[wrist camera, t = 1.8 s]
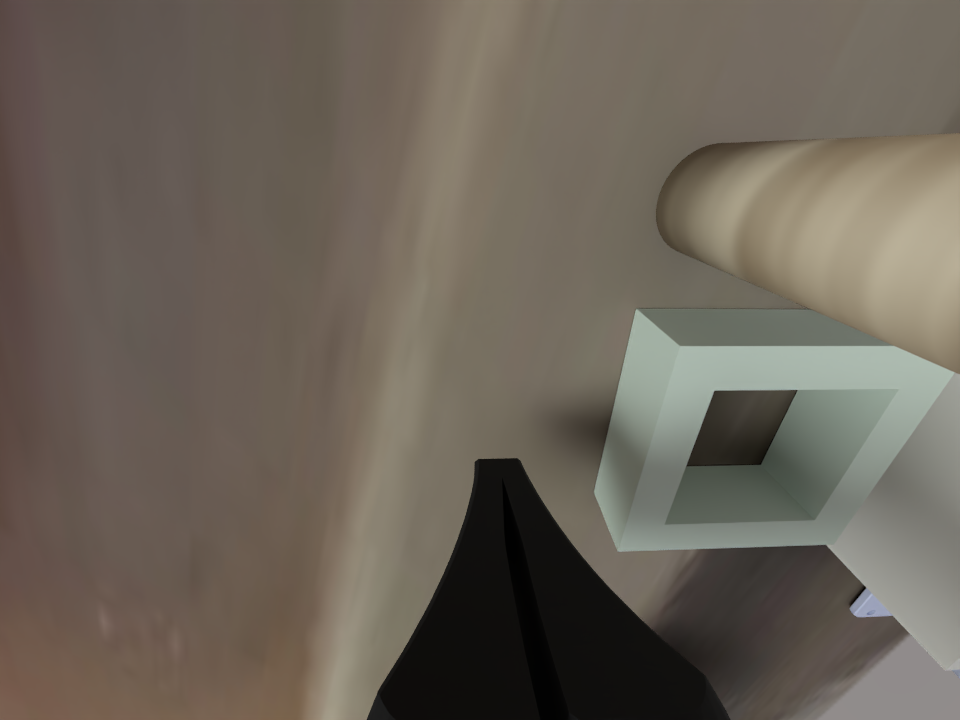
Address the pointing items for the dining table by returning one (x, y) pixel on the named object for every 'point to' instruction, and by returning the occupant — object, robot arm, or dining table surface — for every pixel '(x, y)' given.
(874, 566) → the wall
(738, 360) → the socket block
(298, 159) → the dining table surface
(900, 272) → the dowel
